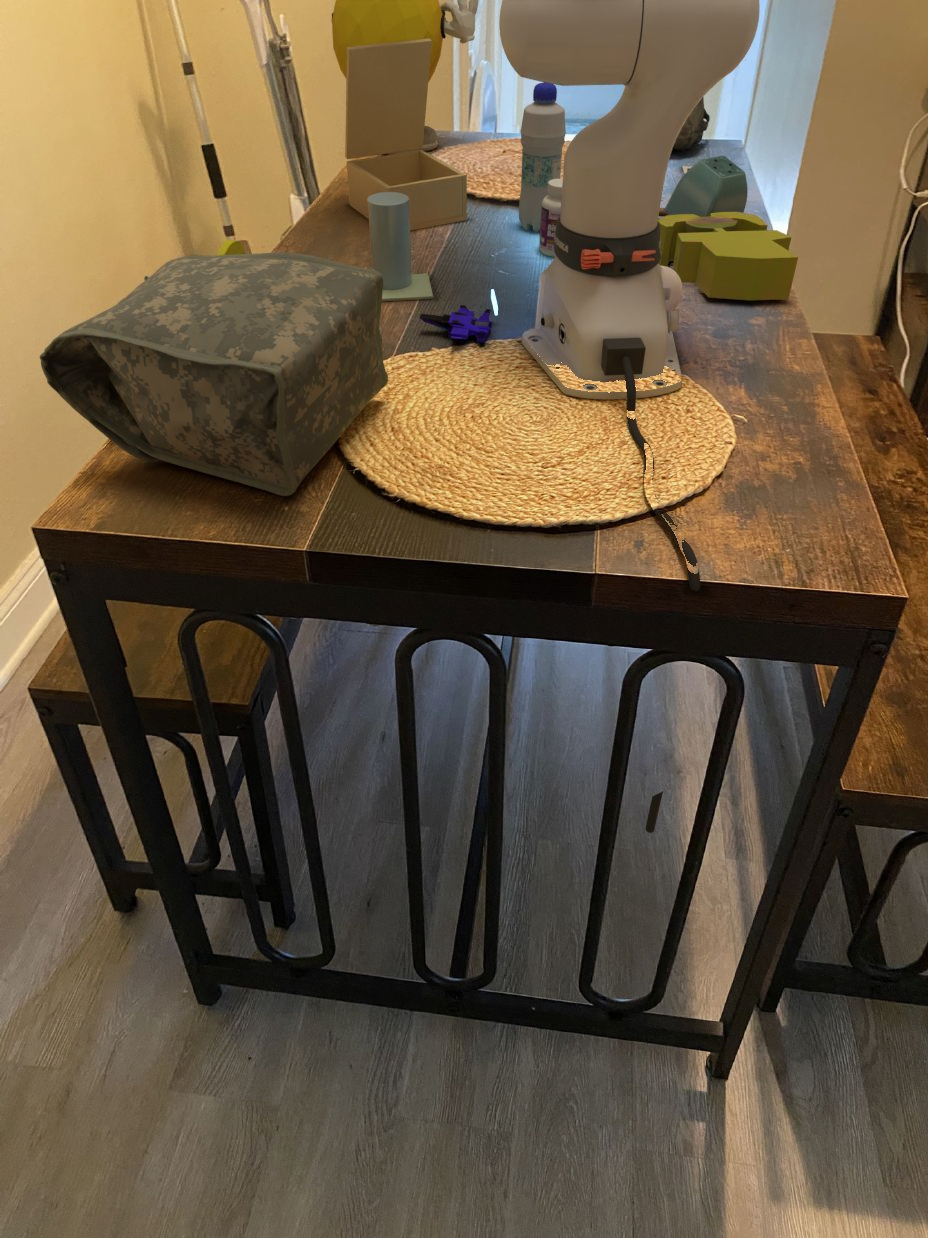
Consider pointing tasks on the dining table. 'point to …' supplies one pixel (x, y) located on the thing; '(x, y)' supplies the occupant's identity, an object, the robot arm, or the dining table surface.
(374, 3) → the toy
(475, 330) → the toy spaceship
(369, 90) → the lid
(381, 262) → the grey cylinder
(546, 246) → the pill bottle
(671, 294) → the egg
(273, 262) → the lunch bag
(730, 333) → the dining table surface
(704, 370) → the dining table surface
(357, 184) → the chest
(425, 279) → the mat
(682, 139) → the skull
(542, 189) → the bottle
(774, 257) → the toy
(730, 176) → the flower pot
